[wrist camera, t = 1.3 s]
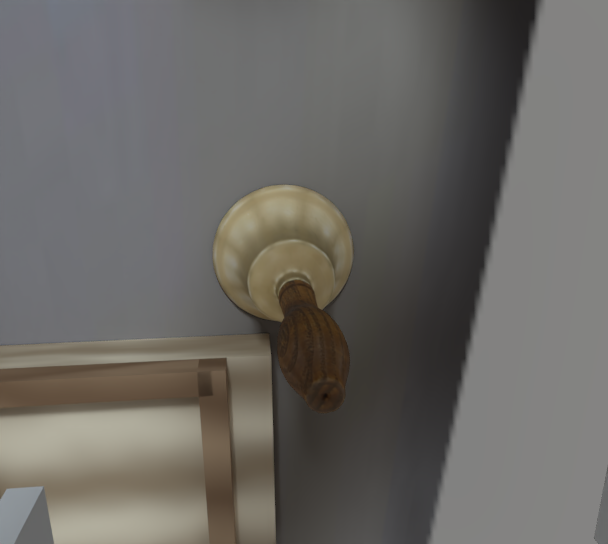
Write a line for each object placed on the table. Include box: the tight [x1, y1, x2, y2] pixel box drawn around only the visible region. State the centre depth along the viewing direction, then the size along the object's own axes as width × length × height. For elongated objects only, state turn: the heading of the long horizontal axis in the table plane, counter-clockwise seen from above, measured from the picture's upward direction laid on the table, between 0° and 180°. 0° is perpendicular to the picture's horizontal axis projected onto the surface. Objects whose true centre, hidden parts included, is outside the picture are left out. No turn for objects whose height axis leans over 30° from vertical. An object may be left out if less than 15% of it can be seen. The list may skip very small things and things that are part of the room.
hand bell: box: [213, 185, 354, 413], centre depth 25 cm, size 8×8×16 cm
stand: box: [0, 333, 276, 544], centre depth 33 cm, size 15×20×4 cm
